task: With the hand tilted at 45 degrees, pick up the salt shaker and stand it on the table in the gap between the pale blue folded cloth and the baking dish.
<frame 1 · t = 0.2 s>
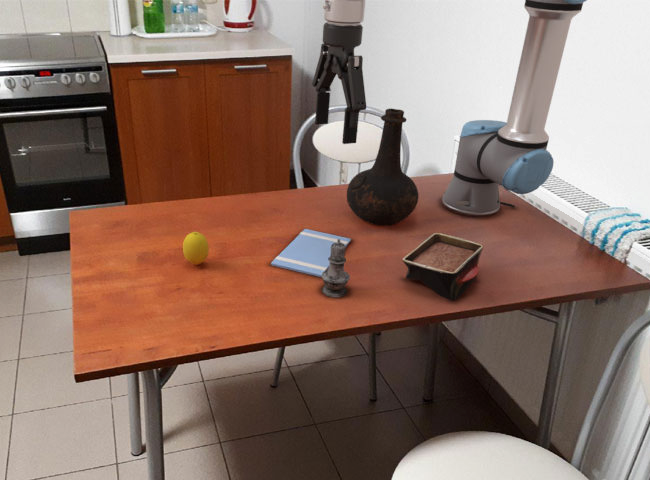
hand: (334, 133, 132), 28 cm above the table, tool pointing down, fingers open, 13 cm apart
cloth: (312, 252, 147), on the table
salt shaker: (334, 291, 133), on the table
baking dish: (440, 282, 138), on the table
glass bottle: (379, 219, 165), on the table
lemon: (196, 265, 140), on the table
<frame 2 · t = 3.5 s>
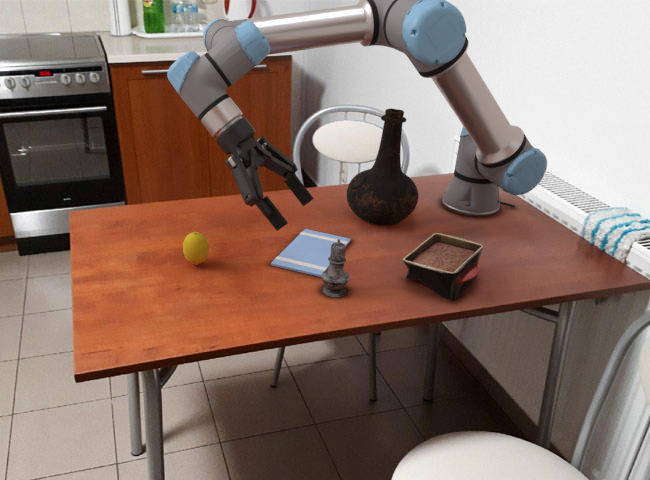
hand: (296, 214, 128), 15 cm above the table, tool tilted 45°, fingers open, 13 cm apart
nothing on the table moved.
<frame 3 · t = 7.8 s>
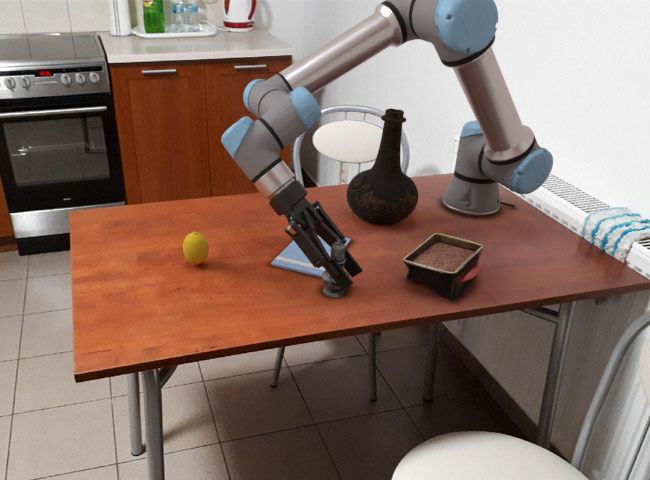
hand: (352, 280, 130), 4 cm above the table, tool tilted 45°, fingers closed on salt shaker, 5 cm apart
salt shaker: (334, 291, 133), on the table, touching gripper
everything else where it was.
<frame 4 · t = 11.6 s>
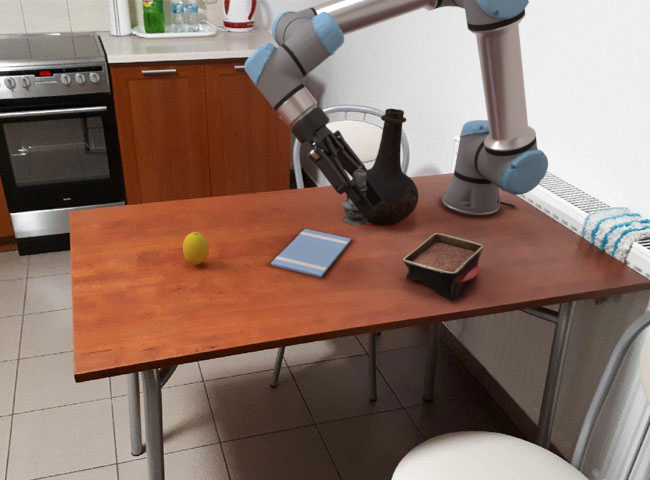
hand: (373, 208, 131), 16 cm above the table, tool tilted 45°, fingers closed on salt shaker, 5 cm apart
salt shaker: (355, 221, 134), point 12 cm above the table, touching gripper
everything else where it was.
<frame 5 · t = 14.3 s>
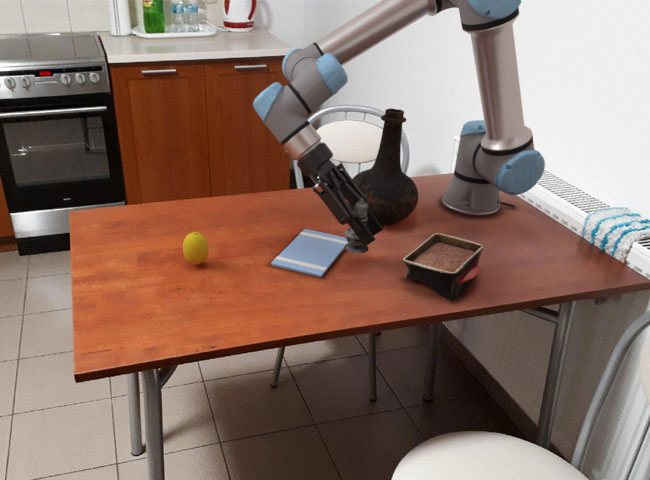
hand: (374, 237, 139), 7 cm above the table, tool tilted 45°, fingers closed on salt shaker, 5 cm apart
salt shaker: (356, 248, 142), point 3 cm above the table, touching gripper
everything else where it was.
when the fingers open (3 cm above the table, at t = 15.7 s): salt shaker stays where it is, on the table.
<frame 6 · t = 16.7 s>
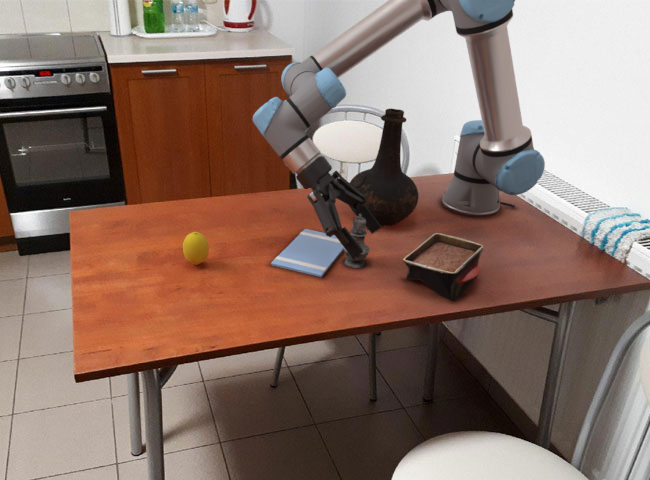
hand: (368, 242, 140), 6 cm above the table, tool tilted 45°, fingers open, 13 cm apart
salt shaker: (355, 263, 144), on the table
everything else where it was.
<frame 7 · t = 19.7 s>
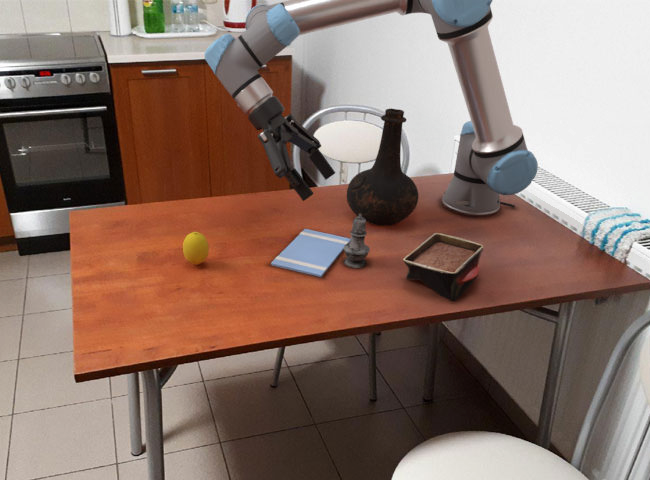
hand: (320, 186, 139), 16 cm above the table, tool tilted 45°, fingers open, 13 cm apart
nothing on the table moved.
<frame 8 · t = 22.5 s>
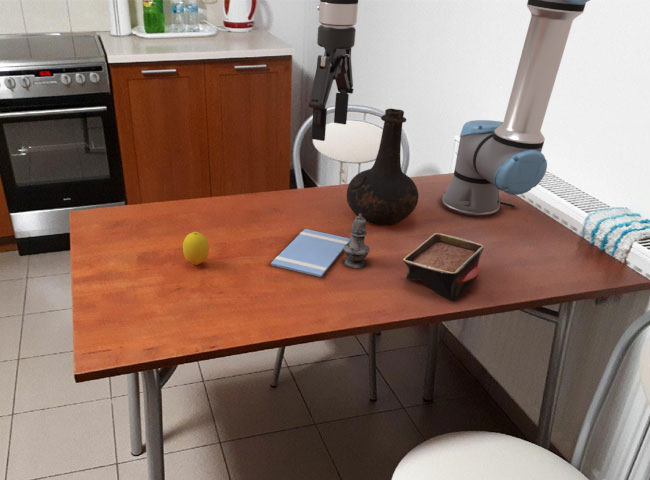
hand: (329, 131, 138), 27 cm above the table, tool pointing down, fingers open, 13 cm apart
nothing on the table moved.
at the end: salt shaker 0.1 cm from the target spot on the table beside the cloth, on the table; salt shaker 19.4 cm from the baking dish (horizontally); salt shaker tilted 0° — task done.
